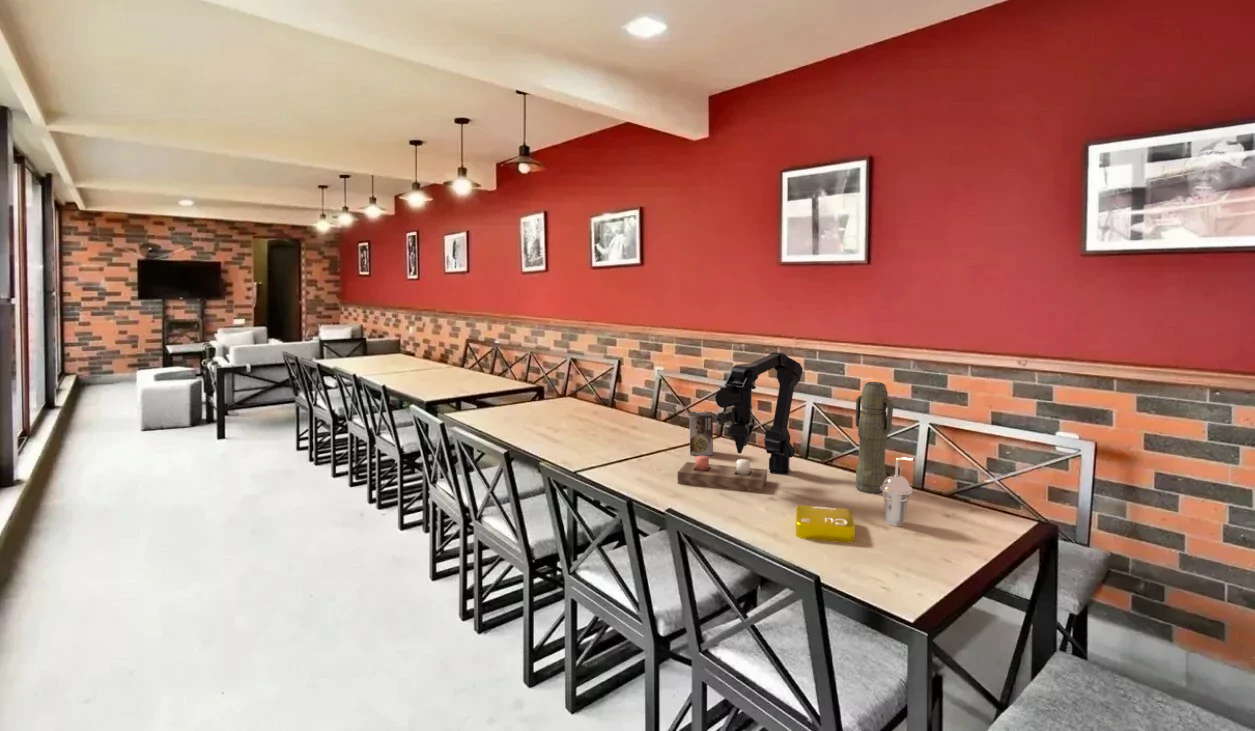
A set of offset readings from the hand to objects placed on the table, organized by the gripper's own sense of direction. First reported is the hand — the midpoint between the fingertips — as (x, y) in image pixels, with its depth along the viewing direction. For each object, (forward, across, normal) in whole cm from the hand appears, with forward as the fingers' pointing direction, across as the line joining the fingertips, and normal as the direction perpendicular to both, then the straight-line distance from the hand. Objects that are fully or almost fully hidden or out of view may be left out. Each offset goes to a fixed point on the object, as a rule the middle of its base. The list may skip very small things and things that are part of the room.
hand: (741, 449), depth 210 cm
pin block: (+12, 0, -6) cm, 14 cm away
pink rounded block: (+8, 0, -13) cm, 16 cm away
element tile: (+12, +31, +28) cm, 43 cm away
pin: (+8, 0, 0) cm, 8 cm away
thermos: (+12, -8, +40) cm, 43 cm away
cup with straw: (+12, +20, +46) cm, 52 cm away
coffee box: (+12, -32, -21) cm, 40 cm away
